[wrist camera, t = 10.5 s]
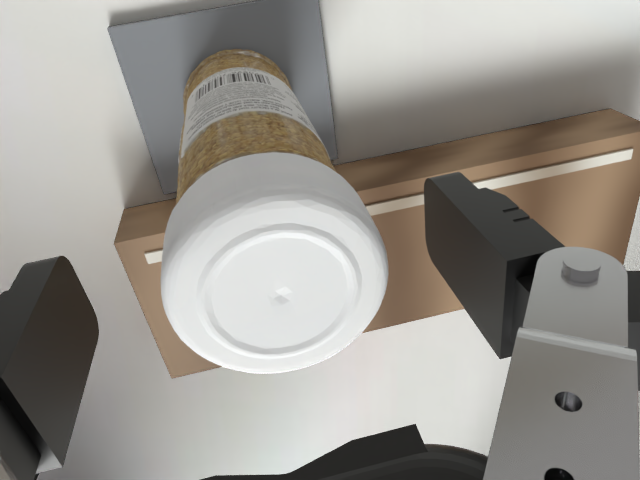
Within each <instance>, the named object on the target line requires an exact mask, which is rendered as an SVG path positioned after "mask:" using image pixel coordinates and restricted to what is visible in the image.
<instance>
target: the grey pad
mask: <svg viewBox="0 0 640 480" xmlns="http://www.w3.org/2000/svg"><path fill="white" fill-rule="evenodd" d="M107 29H108V32H109V35H110V38H111V41H112V44H113V46H114V49H115V52H116V55H117V58H118V61H119V64H120V67H121V70H122V73H123V76H124V79H125V82H126V85H127V88H128V90H129V93H130V96H131V99H132V102H133V105H134V108H135V111H136V114H137V117H138V120H139V123H140V126H141V129H142V132H143V134H144V137H145V140H146V143H147V146H148V149H149V152H150V155H151V158H152V161H153V164H154V167H155V170H156V173H157V176H158V178H159V181H160V184H161V187H162V190H163V193H164V194H169V193H174V192H177V188H178V179H177V178H178V167H179V162H178V157H179V148H180V138H181V131H182V127H183V124H184V116H185V115H184V103H183V94H184V89H185V86H186V83H187V81H188V79H189V77H190V75H191V73H192V72H193V71H194V70H195V69H196V68H197V66H198V65H199V64H200V63H201V62H202V61H203V60H204V59H206V58H207V57H209V56H211V55H213V54H215V53H217V52H219V51H223V50H232V49H242V50H252V51H254V52H257V53H260V54H262V55H264V56H265V57H267V58H269V59H270V60H272V61H273V62H274V63H275V64H276V65H277V66H278V67H279V68H280V70H281V71H282V72H283V73H284V74H285V75H286V77H287V79H288V81H289V84H290V86H291V89H292V92H293V93H294V94H295V96H296V97H297V99H298V101H299V103H300V104H301V106H302V108H303V109H304V111H305V113H306V115H307V116H308V118H309V120H310V122H311V123H312V125H313V127H314V129H315V130H316V132H317V134H318V136H319V137H320V139H321V141H322V143H323V144H324V146H325V148H326V150H327V153H328V155H329V157H330V160H334V159H338V155H337V147H336V139H335V131H334V122H333V114H332V106H331V98H330V90H329V82H328V74H327V66H326V58H325V50H324V42H323V33H322V25H321V17H320V9H319V1H318V0H259V1H253V2H247V3H241V4H236V5H230V6H224V7H218V8H213V9H207V10H201V11H195V12H189V13H184V14H178V15H172V16H166V17H161V18H155V19H149V20H143V21H138V22H132V23H126V24H120V25H115V26H109V27H108V28H107Z"/></svg>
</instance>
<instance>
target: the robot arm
mask: <svg viewBox="0 0 640 480" xmlns="http://www.w3.org/2000/svg"><path fill="white" fill-rule="evenodd" d="M424 211H425V239H426V245H427V250H428V253H429V256H430V258H431V260H432V262H433V264H434V265H435V267H436V268H437V270H438V271H439V273H440V274H441V275H442V277H443V278H444V280H445V281H446V283H447V284H448V285H449V287H450V288H451V290H452V291H453V293H454V294H455V296H456V297H457V298H458V300H459V301H460V303H461V304H462V306H463V307H464V308H465V310H466V311H467V313H468V314H469V316H470V317H471V318H472V320H473V321H474V323H475V324H476V326H477V327H478V329H479V330H480V331H481V333H482V334H483V336H484V337H485V339H486V340H487V341H488V343H489V344H490V346H491V347H492V349H493V350H494V352H495V353H496V354H497V356H498V357H499V359H503V358H507V357H511V356H512V358H511V362H510V366H509V370H508V375H507V379H506V383H505V387H504V392H503V396H502V400H501V405H500V409H499V413H498V417H497V422H496V426H495V430H494V435H493V439H492V443H491V447H490V452H489V456H485V455H483V454H480V453H477V452H474V451H471V450H468V449H463V448H459V447H454V446H448V445H438V444H424V443H423V440H422V438H421V436H420V433H419V431H418V429H417V426H416V424H413V425H409V426H406V427H402V428H398V429H394V430H390V431H386V432H382V433H379V434H375V435H371V436H367V437H363V438H359V439H355V440H352V441H350V442H348V443H346V444H344V445H342V446H340V447H338V448H337V449H335V450H333V451H331V452H329V453H327V454H325V455H323V456H321V457H319V458H318V459H316V460H314V461H312V462H310V463H308V464H306V465H304V466H302V467H300V468H299V469H297V470H295V471H293V472H290V473H287V474H281V475H224V476H212V477H209V478H205V479H201V480H640V450H639V411H638V391H640V271H626V269H625V267H624V266H623V265H622V264H621V263H620V262H619V261H618V260H617V259H615V258H614V257H612V256H610V255H608V254H606V253H604V252H601V251H598V250H594V249H590V248H584V247H565V246H564V245H563V244H562V243H561V242H559V241H558V240H557V239H556V238H555V237H554V236H552V235H551V234H550V233H549V232H548V231H547V230H545V229H544V228H543V227H542V226H541V225H540V224H538V223H537V222H536V221H535V220H534V219H533V218H532V219H530V216H529V215H528V214H527V213H526V212H524V211H523V210H522V209H519V206H517V205H516V204H515V203H514V202H513V201H512V200H510V199H509V198H508V197H507V196H506V195H503V194H501V193H498V192H496V191H493V190H491V189H488V188H486V187H485V188H481V189H478V188H477V187H476V186H475V185H474V184H473V183H472V182H470V181H469V180H468V179H467V178H466V177H465V176H464V175H463V174H462V173H460V172H454V173H450V174H445V175H440V176H436V177H431V178H427V179H426V180H425V183H424ZM98 335H99V329H98V321H97V317H96V314H95V312H94V309H93V307H92V305H91V303H90V301H89V299H88V297H87V295H86V293H85V291H84V289H83V287H82V285H81V283H80V281H79V279H78V277H77V275H76V273H75V271H74V269H73V267H72V265H71V263H70V262H69V260H68V259H67V258H66V257H64V256H59V257H54V258H50V259H45V260H40V261H36V262H31V263H27V264H25V265H23V267H22V268H21V270H20V272H19V273H18V275H17V277H16V279H15V280H14V282H13V284H12V286H11V287H10V289H9V291H5V292H3V293H2V294H1V295H0V480H34V477H35V474H37V473H41V472H45V471H49V470H53V469H57V468H61V467H63V464H64V460H65V457H66V453H67V450H68V446H69V442H70V439H71V435H72V431H73V428H74V424H75V421H76V417H77V413H78V410H79V406H80V403H81V399H82V395H83V392H84V388H85V384H86V381H87V377H88V374H89V370H90V366H91V363H92V359H93V356H94V352H95V348H96V345H97V341H98Z"/></svg>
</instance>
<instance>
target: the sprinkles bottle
mask: <svg viewBox="0 0 640 480" xmlns="http://www.w3.org/2000/svg"><path fill="white" fill-rule="evenodd" d="M183 103H184V115H185V116H184V124H183V127H182V131H181V138H180V148H179V157H178V162H179V167H178V178H177V179H178V188H177V198H176V206H175V207H174V209H173V210H172V213H171V215H170V218H169V220H168V223H167V227H166V231H165V236H164V243H163V252H162V265H161V280H160V281H161V297H162V302H163V307H164V310H165V313H166V315H167V318H168V320H169V322H170V324H171V326H172V327H173V329H174V331H175V332H176V333H177V335H178V336H179V338H180V339H181V340H182V341H183V342H184V343H185V344H186V345H187V346H188V347H190V348H191V349H192V350H193V351H194V352H196V353H197V354H198V355H200V356H201V357H203V358H205V359H207V360H208V361H210V362H213V363H215V364H217V365H220V366H222V367H225V368H229V369H232V370H236V371H241V372H247V373H257V374H266V373H282V372H288V371H293V370H298V369H302V368H305V367H308V366H312V365H314V364H317V363H319V362H321V361H323V360H326V359H328V358H330V357H332V356H333V355H335V354H337V353H338V352H340V351H341V350H342V349H344V348H345V347H347V346H348V345H349V344H350V343H352V342H353V341H354V340H355V339H356V338H357V337H358V336H359V335H360V334H361V333H362V332H363V331H364V330H365V329H366V327H367V326H368V325H369V323H370V322H371V321H372V319H373V318H374V316H375V315H376V313H377V311H378V310H379V307H380V305H381V303H382V300H383V297H384V295H385V291H386V287H387V281H388V259H387V253H386V249H385V246H384V243H383V240H382V237H381V235H380V233H379V231H378V229H377V227H376V225H375V223H374V221H373V220H372V218H371V216H370V214H369V212H368V210H367V209H366V207H365V205H364V204H363V202H362V200H361V199H360V197H359V195H358V194H357V192H356V191H355V190H354V188H353V187H352V186H351V185H350V184H349V183H348V182H347V181H346V180H345V179H344V178H343V177H342V176H341V175H339V174H338V173H337V172H336V170H335V168H334V166H333V165H332V163H331V160H330V157H329V155H328V153H327V150H326V148H325V146H324V144H323V143H322V141H321V139H320V137H319V136H318V134H317V132H316V130H315V129H314V127H313V125H312V123H311V122H310V120H309V118H308V116H307V115H306V113H305V111H304V109H303V108H302V106H301V104H300V103H299V101H298V99H297V97H296V96H295V94H294V93H293V92H292V89H291V86H290V84H289V81H288V79H287V77H286V75H285V74H284V73H283V72H282V71H281V70H280V68H279V67H278V66H277V65H276V64H275V63H274V62H273V61H272V60H270V59H269V58H267V57H265V56H264V55H262V54H260V53H257V52H254V51H252V50H242V49H232V50H223V51H219V52H217V53H215V54H213V55H211V56H209V57H207V58H206V59H204V60H203V61H202V62H201V63H200V64H199V65H198V66H197V68H196V69H195V70H194V71H193V72H192V73H191V75H190V77H189V79H188V81H187V83H186V86H185V89H184V94H183Z"/></svg>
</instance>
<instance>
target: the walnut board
mask: <svg viewBox="0 0 640 480" xmlns="http://www.w3.org/2000/svg"><path fill="white" fill-rule="evenodd" d="M334 168H335V170H336V172H337V173H338V174H339V175H341V176H342V177H343V178H344V179H345V180H346V181H347V182H348V183H349V184H350V185H351V186H352V187H353V188H354V190H355V191H356V192H357V194H358V195H359V197H360V199H361V200H362V202H363V204H364V205H365V207H366V209H367V210H368V212H369V214H370V216H371V218H372V220H373V221H374V223H375V225H376V227H377V229H378V231H379V233H380V235H381V237H382V240H383V243H384V246H385V249H386V253H387V259H388V281H387V287H386V291H385V295H384V297H383V300H382V303H381V305H380V307H379V310H378V311H377V313H376V315H375V316H374V318H373V319H372V321H371V322H370V323H369V325H368V326H367V327H366V329H365V330H364V331H363V332H362V333H365V332H369V331H373V330H377V329H381V328H386V327H390V326H394V325H398V324H402V323H406V322H411V321H415V320H419V319H423V318H427V317H432V316H436V315H440V314H444V313H448V312H452V311H457V310H461V309H465V308H464V307H463V306H462V304H461V303H460V301H459V300H458V298H457V297H456V296H455V294H454V293H453V291H452V290H451V288H450V287H449V285H448V284H447V283H446V281H445V280H444V278H443V277H442V275H441V274H440V273H439V271H438V270H437V268H436V267H435V265H434V264H433V262H432V260H431V258H430V256H429V253H428V250H427V245H426V239H425V211H424V183H425V180H426V179H427V178H431V177H436V176H440V175H445V174H450V173H454V172H460V173H462V174H463V175H464V176H465V177H466V178H467V179H468V180H469V181H470V182H472V183H473V184H474V185H475V186H476V187H477V188H478V189H481V188H485V187H486V188H488V189H491V190H493V191H496V192H498V193H501V194H503V195H506V196H507V197H508V198H509V199H510V200H512V201H513V202H514V203H515V204H516V205H517V206H519V209H522V210H523V211H524V212H526V213H527V214H528V215H529V216H530V219H532V218H533V219H534V220H535V221H536V222H537V223H538V224H540V225H541V226H542V227H543V228H544V229H545V230H547V231H548V232H549V233H550V234H551V235H552V236H554V237H555V238H556V239H557V240H558V241H559V242H561V243H562V244H563V245H564V246H565V247H584V248H590V249H594V250H598V251H601V252H604V253H606V254H608V255H610V256H612V257H614V258H615V259H617V260H618V261H619V262H620V263H621V264H622V265H623V263H624V259H625V255H626V251H627V247H628V242H629V238H630V234H631V230H632V226H633V221H634V217H635V213H636V209H637V205H638V200H639V196H640V121H638V120H636V119H633V118H631V117H629V116H627V115H624V114H622V113H620V112H617V111H615V110H613V109H606V110H601V111H596V112H591V113H586V114H582V115H577V116H572V117H567V118H562V119H557V120H553V121H548V122H543V123H538V124H533V125H528V126H524V127H519V128H514V129H509V130H504V131H499V132H495V133H490V134H485V135H480V136H475V137H470V138H466V139H461V140H456V141H451V142H446V143H441V144H437V145H432V146H427V147H422V148H417V149H412V150H408V151H403V152H398V153H393V154H388V155H383V156H379V157H374V158H369V159H364V160H359V161H354V162H350V163H345V164H340V165H335V166H334ZM175 206H176V198H175V199H171V200H166V201H161V202H156V203H151V204H146V205H142V206H137V207H132V208H127V209H124V211H123V214H122V217H121V221H120V224H119V228H118V231H117V234H116V238H115V241H114V245H115V247H116V250H117V252H118V254H119V257H120V259H121V261H122V264H123V266H124V268H125V271H126V273H127V275H128V278H129V280H130V282H131V285H132V287H133V289H134V292H135V294H136V296H137V299H138V301H139V303H140V306H141V308H142V310H143V313H144V315H145V317H146V320H147V322H148V324H149V327H150V329H151V331H152V334H153V336H154V339H155V341H156V343H157V346H158V348H159V350H160V353H161V355H162V357H163V360H164V362H165V364H166V367H167V369H168V371H169V374H170V376H171V378H176V377H181V376H185V375H189V374H193V373H197V372H202V371H206V370H210V369H214V368H218V367H222V366H220V365H217V364H215V363H213V362H210V361H208V360H207V359H205V358H203V357H201V356H200V355H198V354H197V353H196V352H194V351H193V350H192V349H191V348H190V347H188V346H187V345H186V344H185V343H184V342H183V341H182V340H181V339H180V338H179V336H178V335H177V333H176V332H175V331H174V329H173V327H172V326H171V324H170V322H169V320H168V318H167V315H166V313H165V310H164V307H163V302H162V297H161V281H160V280H161V265H162V252H163V243H164V236H165V231H166V227H167V223H168V220H169V218H170V215H171V213H172V210H173V209H174V207H175Z"/></svg>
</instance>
